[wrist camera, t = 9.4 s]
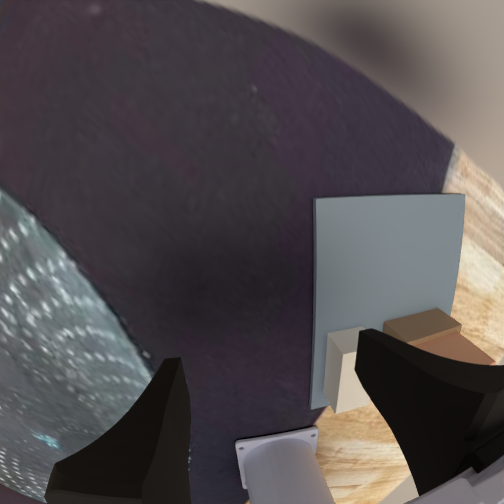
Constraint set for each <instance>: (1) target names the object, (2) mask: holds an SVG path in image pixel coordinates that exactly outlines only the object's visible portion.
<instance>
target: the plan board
mask: <svg viewBox="0 0 504 504" xmlns="http://www.w3.org/2000/svg"><path fill="white" fill-rule="evenodd" d="M464 211H465V194H390V195H361V196H338V197H319V198H313V233H314V294H313V336H312V361H311V381H310V398H309V406H310V409H311V410H312V409H316V408H320V407H325V406H329V405H331V407H332V409H333V411H334V412H335V414H338V413H342V412H346V411H350V410H353V409H357V408H360V407H364V406H367V405H369V404H370V398H369V396H368V395H367V393H366V392H365V390H364V389H363V387H362V385H361V383H360V381H359V379H358V377H357V374H356V372H355V370H354V368H355V360H356V353H357V345H358V336H359V331H361V330H365V329H370V328H373V329H376V330H378V331H381V332H383V333H385V334H388V335H390V336H392V337H394V338H396V339H399V340H401V341H403V342H405V343H408V344H410V345H412V346H414V345H417V344H420V343H424V342H427V341H430V340H433V339H436V338H439V337H442V336H445V335H448V334H451V333H453V332H456V331H457V332H459V333H460V331H461V327H462V324H460V323H459V322H457V321H456V320H455V319H453V318H452V317H450V314H451V309H452V304H453V299H454V294H455V288H456V282H457V276H458V269H459V262H460V254H461V246H462V236H463V225H464Z"/></svg>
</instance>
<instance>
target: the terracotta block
mask: <svg viewBox="0 0 504 504" xmlns="http://www.w3.org/2000/svg"><path fill="white" fill-rule="evenodd" d="M414 346H415V347H417V348H419V349H422V350H425V351H427V352H430V353H433V354H436V355H439V356H442V357H446V358H449V359H453V360H458V361H462V362H468V363H474V364H483V365H495V362H496V361H495V360H493V359H492V358H491V357H490V356H488V355H487V354H486V353H485V352H483V351H482V350H481V349H479V348H478V347H477V346H476V345H474V344H473V343H472V342H470V341H469V340H468V339H466V338H465V337H464V336H462V335H461V334H460V333H459V332H457V331H456V332H453V333H451V334H448V335H445V336H442V337H439V338H436V339H433V340H430V341H427V342H424V343H420V344H417V345H414Z"/></svg>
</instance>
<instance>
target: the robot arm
mask: <svg viewBox="0 0 504 504" xmlns="http://www.w3.org/2000/svg"><path fill="white" fill-rule="evenodd" d="M354 370H355V372H356V374H357V377H358V379H359V381H360V383H361V385H362V387H363V389H364V390H365V392H366V393H367V395H368V396H369V398H370V399H371V400H372V402H373V403H374V405H375V406H376V408H377V409H378V410H379V412H380V413H381V415H382V416H383V418H384V419H385V421H386V422H387V424H388V425H389V427H390V428H391V430H392V432H393V434H394V436H395V438H396V440H397V442H398V444H399V446H400V448H401V450H402V452H403V454H404V457H405V459H406V461H407V464H408V466H409V469H410V471H411V474H412V476H413V479H414V482H415V485H416V488H417V491H418V494H419V497H417V498H415V499H413V500H411V501H408V502H406V503H404V504H504V365H483V364H474V363H468V362H462V361H458V360H453V359H449V358H446V357H442V356H439V355H436V354H433V353H430V352H427V351H425V350H422V349H419V348H417V347H415V346H412V345H410V344H408V343H405V342H403V341H401V340H399V339H396V338H394V337H392V336H390V335H388V334H385V333H383V332H381V331H378V330H376V329H373V328H370V329H365V330H361V331H359V336H358V345H357V353H356V360H355V368H354ZM190 424H191V412H190V396H189V392H188V388H187V384H186V380H185V375H184V371H183V366H182V362H181V357H180V358H168V359H164V361H163V362H162V364H161V365H160V367H159V369H158V370H157V372H156V374H155V375H154V377H153V378H152V380H151V381H150V383H149V384H148V386H147V387H146V389H145V390H144V392H143V393H142V394H141V396H140V397H139V398H138V400H137V401H136V402H135V403H134V405H133V406H132V407H131V408H130V409H129V411H128V412H127V413H126V414H125V415H124V416H123V417H122V418H121V419H120V420H119V421H118V422H117V423H116V424H115V425H114V426H113V427H112V428H110V429H109V430H108V431H107V432H106V433H104V434H103V435H102V436H101V437H99V438H98V439H97V440H95V441H94V442H93V443H91V444H90V445H88V446H87V447H85V448H83V449H82V450H80V451H78V452H77V453H75V454H73V455H71V456H69V457H67V458H65V459H63V460H61V461H59V462H57V463H55V465H54V467H53V470H52V472H51V475H50V479H49V482H48V485H47V489H46V492H45V496H44V497H45V500H46V502H47V503H48V504H191V497H190V486H189V474H188V459H189V441H190ZM318 433H319V430H318V428H317V427H310V428H305V429H301V430H296V431H291V432H286V433H281V434H275V435H269V436H263V437H257V438H250V439H243V440H238V441H236V442H235V446H236V452H237V458H238V463H239V469H240V475H241V480H242V485H243V488H244V489H248V494H249V499H250V504H335V502H334V499H333V497H332V495H331V492H330V490H329V487H328V485H327V483H326V480H325V478H324V475H323V473H322V471H321V468H320V466H319V463H318V461H317V458H316V449H317V441H318Z"/></svg>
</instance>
